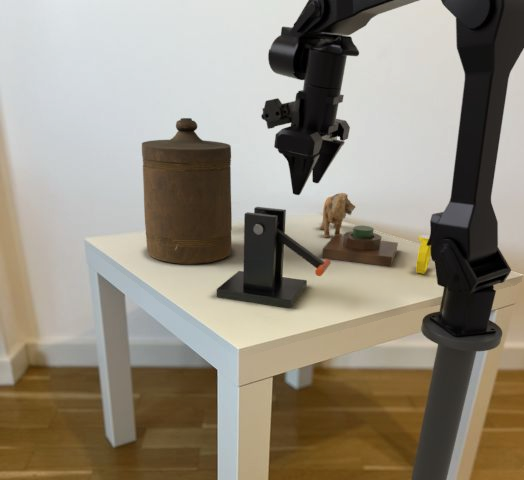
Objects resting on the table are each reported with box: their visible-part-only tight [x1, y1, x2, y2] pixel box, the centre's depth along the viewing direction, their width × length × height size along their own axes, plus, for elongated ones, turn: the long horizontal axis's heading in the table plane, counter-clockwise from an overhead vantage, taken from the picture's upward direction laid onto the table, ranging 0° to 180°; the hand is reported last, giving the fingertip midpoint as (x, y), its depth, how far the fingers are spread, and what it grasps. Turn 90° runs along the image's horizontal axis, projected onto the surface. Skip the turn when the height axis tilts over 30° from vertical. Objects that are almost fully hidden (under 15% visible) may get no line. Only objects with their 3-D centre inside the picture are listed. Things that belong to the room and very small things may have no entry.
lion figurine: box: [318, 192, 356, 238], centre depth 111 cm, size 15×5×9 cm, turn 8°
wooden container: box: [141, 117, 233, 265], centre depth 92 cm, size 15×15×22 cm
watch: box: [415, 234, 431, 275], centre depth 90 cm, size 6×3×6 cm, turn 156°
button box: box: [321, 230, 399, 267], centre depth 99 cm, size 12×10×4 cm
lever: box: [259, 211, 331, 277], centre depth 76 cm, size 12×5×2 cm, turn 71°
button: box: [352, 225, 374, 239], centre depth 98 cm, size 4×4×2 cm
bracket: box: [216, 206, 308, 309], centre depth 78 cm, size 11×9×12 cm
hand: (306, 188), depth 91 cm, fingers open, 9 cm apart
